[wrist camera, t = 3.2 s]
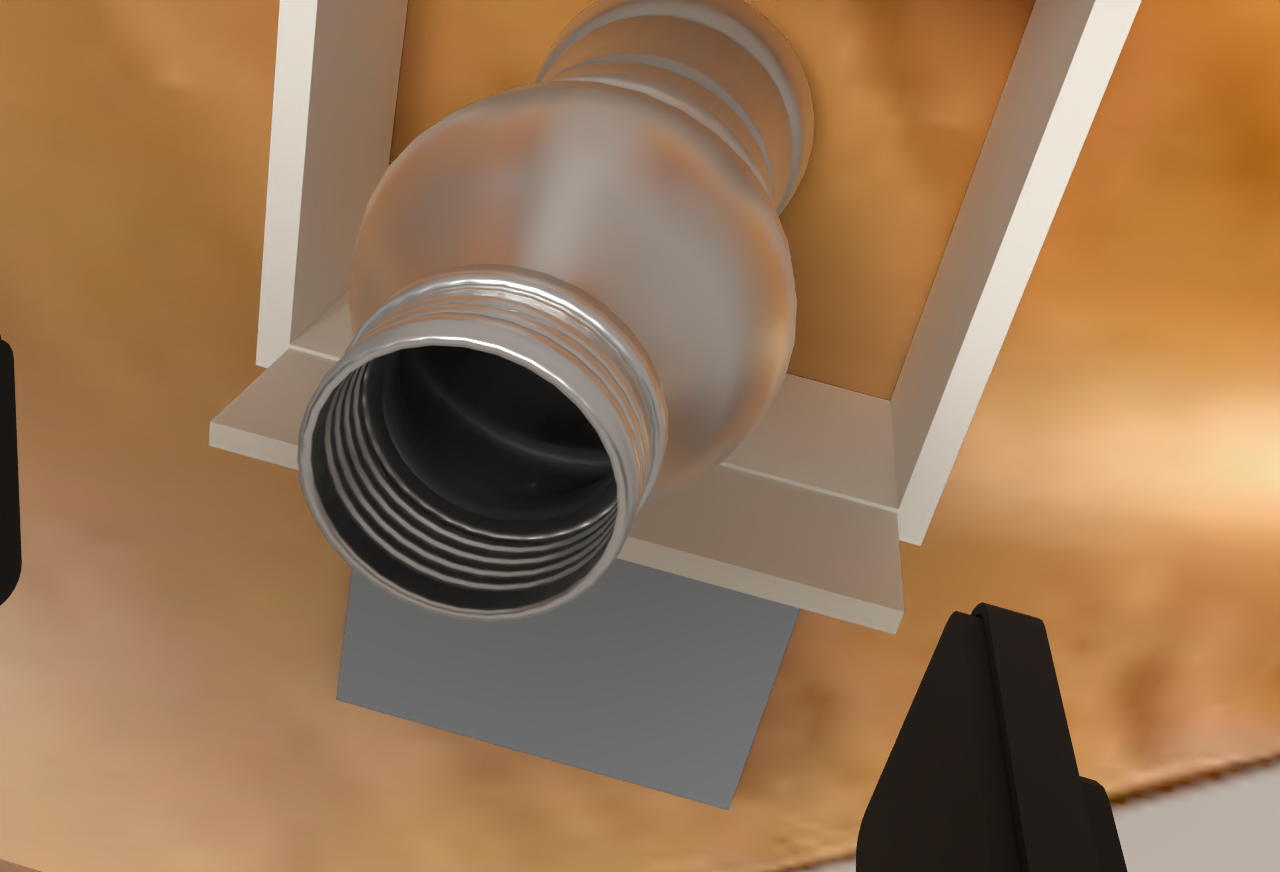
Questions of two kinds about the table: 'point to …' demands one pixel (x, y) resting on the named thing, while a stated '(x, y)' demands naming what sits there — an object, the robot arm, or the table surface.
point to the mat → (585, 676)
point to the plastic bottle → (564, 310)
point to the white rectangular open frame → (802, 409)
